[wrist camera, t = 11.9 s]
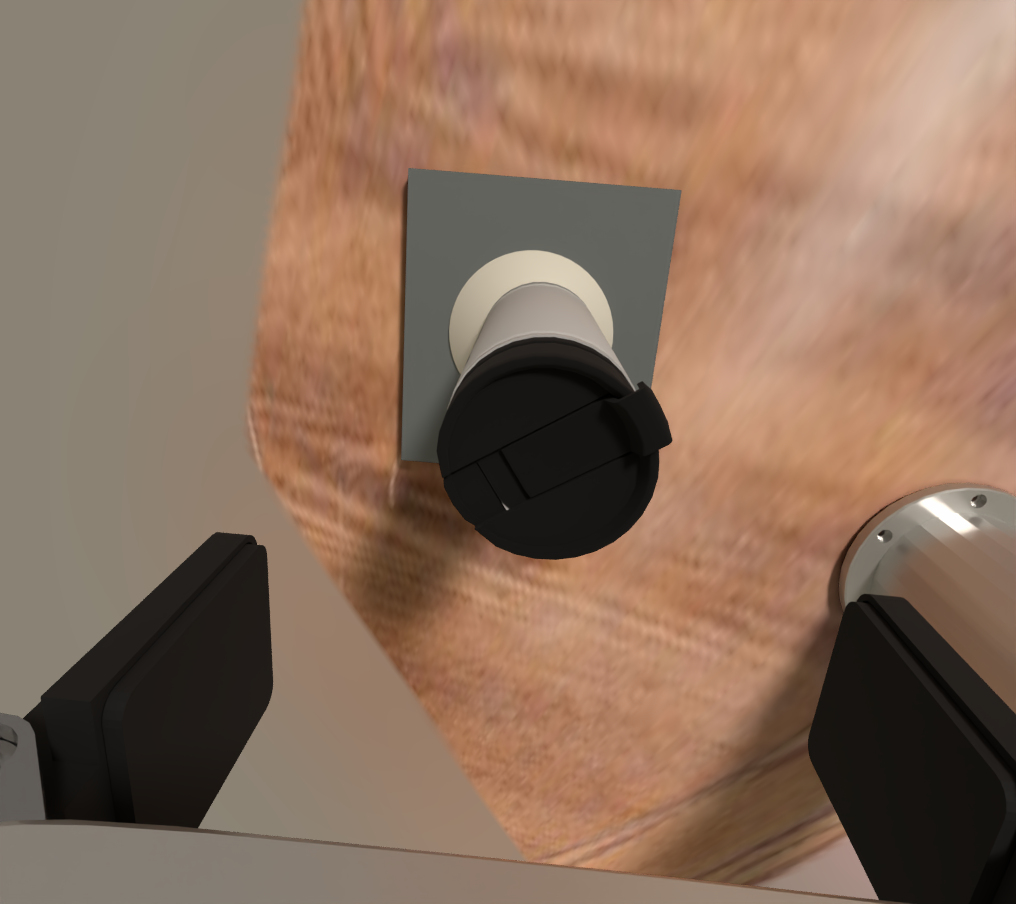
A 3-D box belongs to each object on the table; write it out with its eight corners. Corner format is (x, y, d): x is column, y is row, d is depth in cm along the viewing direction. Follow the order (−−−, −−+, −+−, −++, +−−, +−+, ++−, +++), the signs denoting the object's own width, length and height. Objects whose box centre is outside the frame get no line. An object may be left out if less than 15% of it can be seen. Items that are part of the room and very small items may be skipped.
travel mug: (621, 358, 37) (714, 510, 18) (517, 414, 38) (501, 609, 19) (569, 255, 35) (611, 305, 16) (461, 317, 36) (384, 428, 18)
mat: (634, 472, 41) (637, 481, 39) (405, 453, 41) (400, 460, 39) (676, 191, 35) (682, 190, 34) (412, 169, 35) (407, 167, 34)
